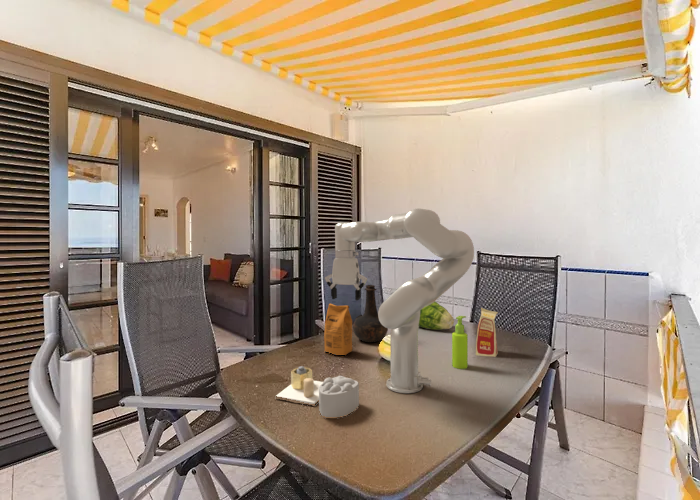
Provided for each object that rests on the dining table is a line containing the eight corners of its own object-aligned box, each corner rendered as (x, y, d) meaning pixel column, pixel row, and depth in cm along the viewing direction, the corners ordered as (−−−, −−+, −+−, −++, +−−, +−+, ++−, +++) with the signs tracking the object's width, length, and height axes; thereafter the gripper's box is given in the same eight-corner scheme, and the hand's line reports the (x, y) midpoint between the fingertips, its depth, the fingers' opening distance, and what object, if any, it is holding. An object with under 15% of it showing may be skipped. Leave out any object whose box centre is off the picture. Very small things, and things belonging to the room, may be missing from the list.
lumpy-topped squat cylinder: (363, 404, 109) (362, 377, 109) (338, 423, 99) (337, 393, 98) (336, 396, 115) (336, 370, 115) (310, 413, 105) (310, 384, 104)
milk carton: (475, 355, 153) (475, 309, 152) (476, 348, 161) (476, 305, 161) (498, 357, 149) (498, 311, 149) (498, 350, 158) (498, 306, 157)
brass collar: (315, 382, 123) (314, 368, 123) (305, 390, 117) (305, 376, 117) (298, 380, 126) (297, 366, 125) (288, 387, 119) (287, 373, 119)
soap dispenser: (471, 365, 141) (471, 316, 140) (463, 370, 136) (463, 319, 135) (457, 361, 145) (457, 313, 144) (449, 366, 140) (449, 316, 139)
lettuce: (448, 343, 189) (441, 326, 179) (412, 328, 205) (404, 311, 195) (462, 320, 196) (456, 302, 187) (426, 307, 212) (419, 290, 203)
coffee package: (334, 347, 166) (333, 301, 166) (355, 351, 159) (354, 303, 158) (320, 353, 158) (319, 304, 157) (342, 358, 151) (341, 307, 150)
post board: (333, 386, 122) (333, 365, 122) (314, 406, 108) (313, 382, 108) (298, 381, 127) (298, 361, 127) (275, 399, 113) (275, 376, 113)
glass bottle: (365, 333, 190) (364, 281, 189) (394, 338, 179) (394, 284, 178) (345, 341, 175) (345, 285, 174) (376, 347, 165) (375, 288, 164)
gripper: (369, 254, 135) (370, 298, 136) (328, 254, 141) (329, 296, 142) (363, 255, 128) (364, 302, 129) (320, 255, 134) (321, 299, 135)
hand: (345, 299), depth 135 cm, fingers open, 9 cm apart
